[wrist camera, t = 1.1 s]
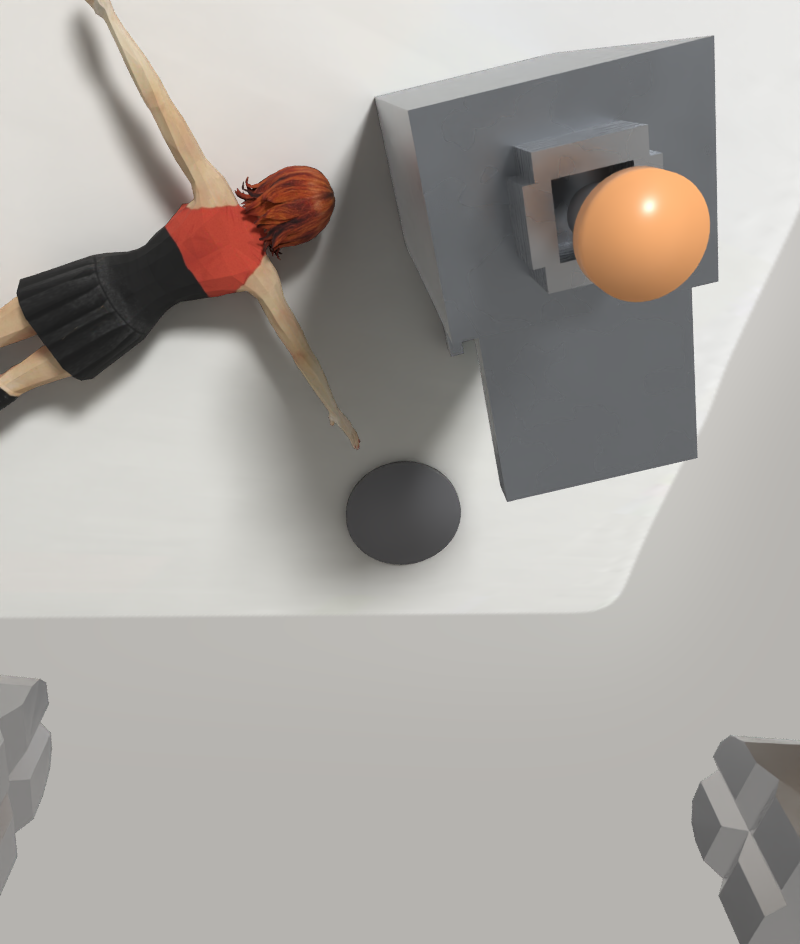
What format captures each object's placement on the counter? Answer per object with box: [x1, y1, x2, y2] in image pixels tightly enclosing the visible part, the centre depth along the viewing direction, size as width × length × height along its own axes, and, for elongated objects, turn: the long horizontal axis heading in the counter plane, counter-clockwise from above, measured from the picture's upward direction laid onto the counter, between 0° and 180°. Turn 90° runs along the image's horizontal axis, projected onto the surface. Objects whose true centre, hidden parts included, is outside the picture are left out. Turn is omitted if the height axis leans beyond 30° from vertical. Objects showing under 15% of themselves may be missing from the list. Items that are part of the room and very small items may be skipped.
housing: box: [375, 36, 718, 502], centre depth 35 cm, size 10×15×22 cm, turn 12°
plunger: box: [567, 166, 710, 302], centre depth 22 cm, size 3×3×4 cm
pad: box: [346, 462, 461, 564], centre depth 53 cm, size 8×8×1 cm
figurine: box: [0, 0, 360, 450], centre depth 43 cm, size 29×6×30 cm
